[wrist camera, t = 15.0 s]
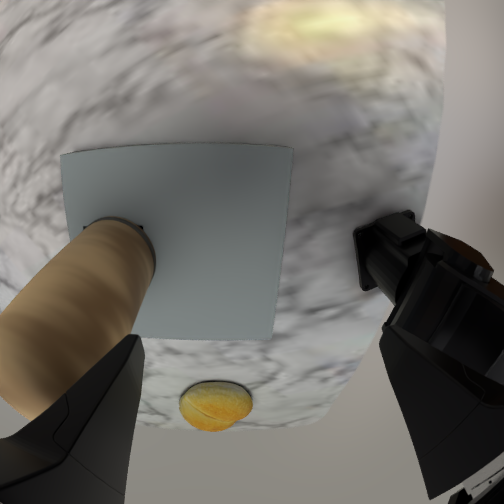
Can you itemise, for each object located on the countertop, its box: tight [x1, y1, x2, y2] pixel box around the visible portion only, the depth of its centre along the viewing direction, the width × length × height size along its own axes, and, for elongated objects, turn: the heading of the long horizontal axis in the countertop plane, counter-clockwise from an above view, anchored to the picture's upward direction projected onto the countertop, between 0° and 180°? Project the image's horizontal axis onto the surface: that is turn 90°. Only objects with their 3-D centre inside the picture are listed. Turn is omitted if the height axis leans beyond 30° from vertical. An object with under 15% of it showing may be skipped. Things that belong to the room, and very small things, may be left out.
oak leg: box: [0, 216, 156, 421], centre depth 13 cm, size 6×6×15 cm
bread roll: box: [179, 382, 253, 432], centre depth 28 cm, size 8×9×4 cm
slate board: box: [60, 143, 294, 340], centre depth 20 cm, size 16×16×2 cm
